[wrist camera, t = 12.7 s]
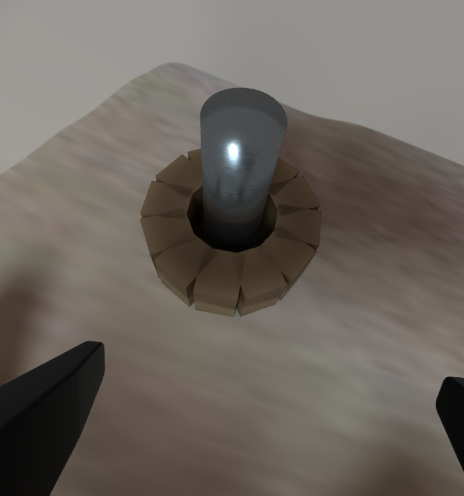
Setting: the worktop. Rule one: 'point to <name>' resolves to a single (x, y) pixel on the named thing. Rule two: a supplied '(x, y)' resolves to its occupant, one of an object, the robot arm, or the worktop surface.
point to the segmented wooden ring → (224, 262)
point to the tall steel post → (238, 164)
